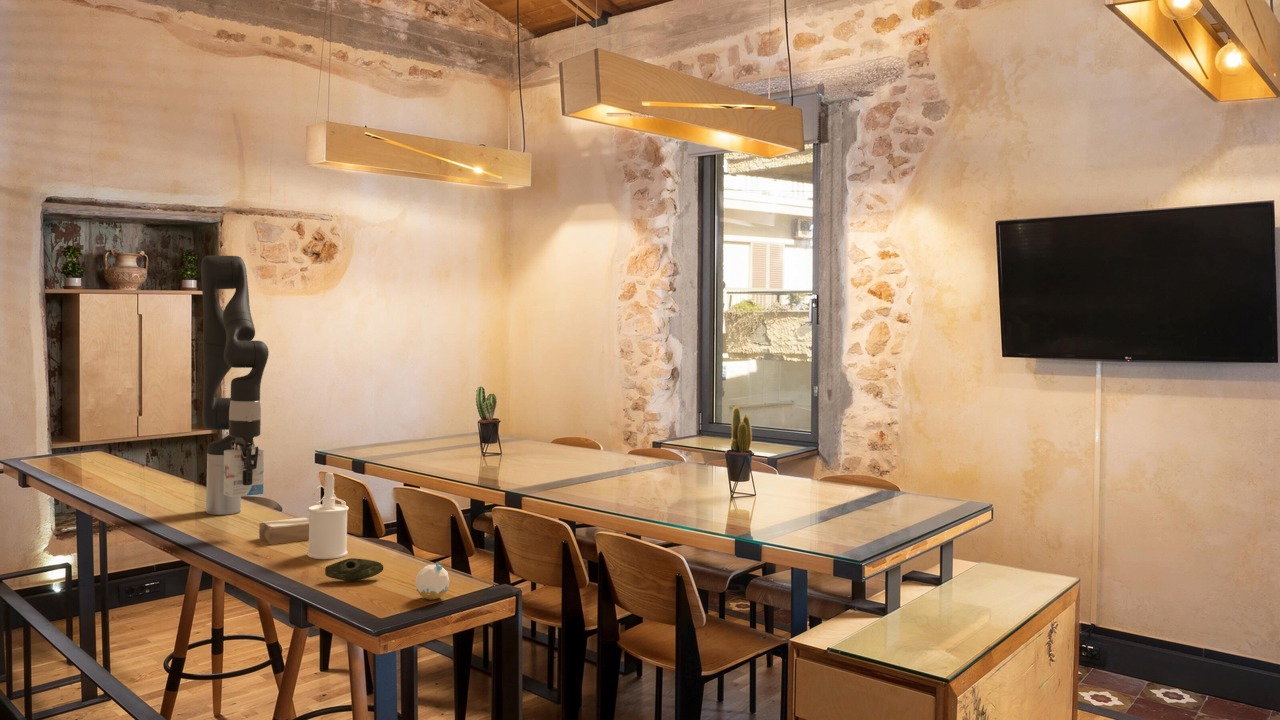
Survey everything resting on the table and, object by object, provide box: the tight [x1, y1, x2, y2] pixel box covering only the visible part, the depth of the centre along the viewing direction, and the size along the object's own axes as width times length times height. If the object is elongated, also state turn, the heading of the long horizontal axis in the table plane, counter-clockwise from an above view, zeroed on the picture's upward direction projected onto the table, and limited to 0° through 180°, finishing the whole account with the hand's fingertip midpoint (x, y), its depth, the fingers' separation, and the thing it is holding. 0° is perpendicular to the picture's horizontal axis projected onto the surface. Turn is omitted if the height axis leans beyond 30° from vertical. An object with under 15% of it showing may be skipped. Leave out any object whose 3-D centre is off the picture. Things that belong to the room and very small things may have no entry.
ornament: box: [415, 561, 451, 601], centre depth 193 cm, size 7×7×8 cm
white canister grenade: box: [307, 471, 350, 560], centre depth 227 cm, size 10×9×20 cm
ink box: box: [224, 448, 265, 497], centre depth 241 cm, size 9×5×12 cm, turn 135°
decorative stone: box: [324, 557, 384, 583], centre depth 205 cm, size 11×8×5 cm
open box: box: [258, 516, 309, 545], centre depth 241 cm, size 8×12×4 cm, turn 131°
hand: (243, 482), depth 241 cm, fingers closed on ink box, 5 cm apart
